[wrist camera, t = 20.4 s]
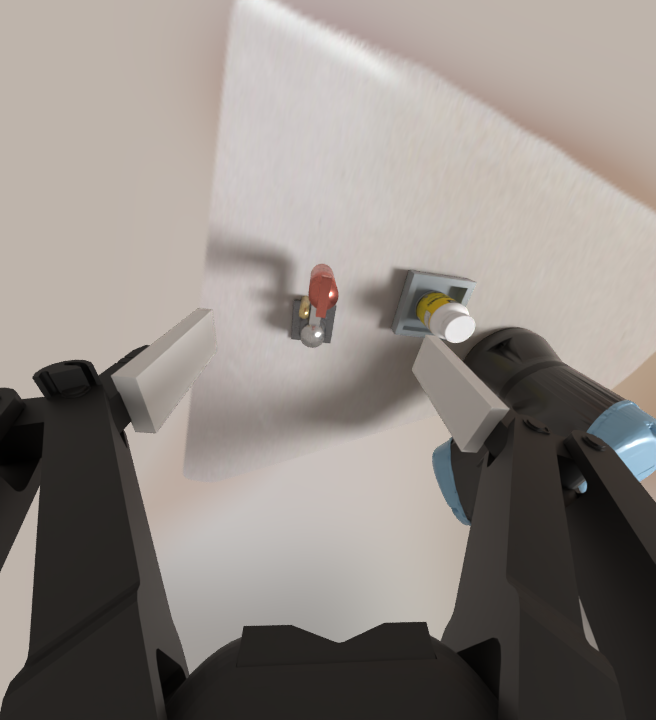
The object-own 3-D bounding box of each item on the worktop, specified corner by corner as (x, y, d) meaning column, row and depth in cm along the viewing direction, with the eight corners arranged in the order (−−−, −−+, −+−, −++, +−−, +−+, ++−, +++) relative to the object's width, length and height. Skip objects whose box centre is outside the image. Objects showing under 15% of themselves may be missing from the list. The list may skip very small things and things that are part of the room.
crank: (321, 344, 38) (323, 386, 28) (299, 341, 37) (293, 383, 28) (337, 260, 31) (346, 280, 22) (311, 255, 30) (307, 273, 21)
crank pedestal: (336, 299, 38) (340, 313, 33) (330, 341, 42) (331, 360, 37) (294, 294, 37) (290, 307, 32) (291, 337, 42) (287, 356, 36)
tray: (467, 278, 37) (477, 282, 35) (443, 334, 42) (449, 340, 40) (409, 270, 36) (414, 273, 34) (391, 328, 41) (395, 334, 39)
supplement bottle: (448, 287, 37) (486, 308, 29) (443, 318, 40) (476, 345, 32) (414, 292, 37) (442, 313, 29) (412, 322, 40) (437, 350, 32)
